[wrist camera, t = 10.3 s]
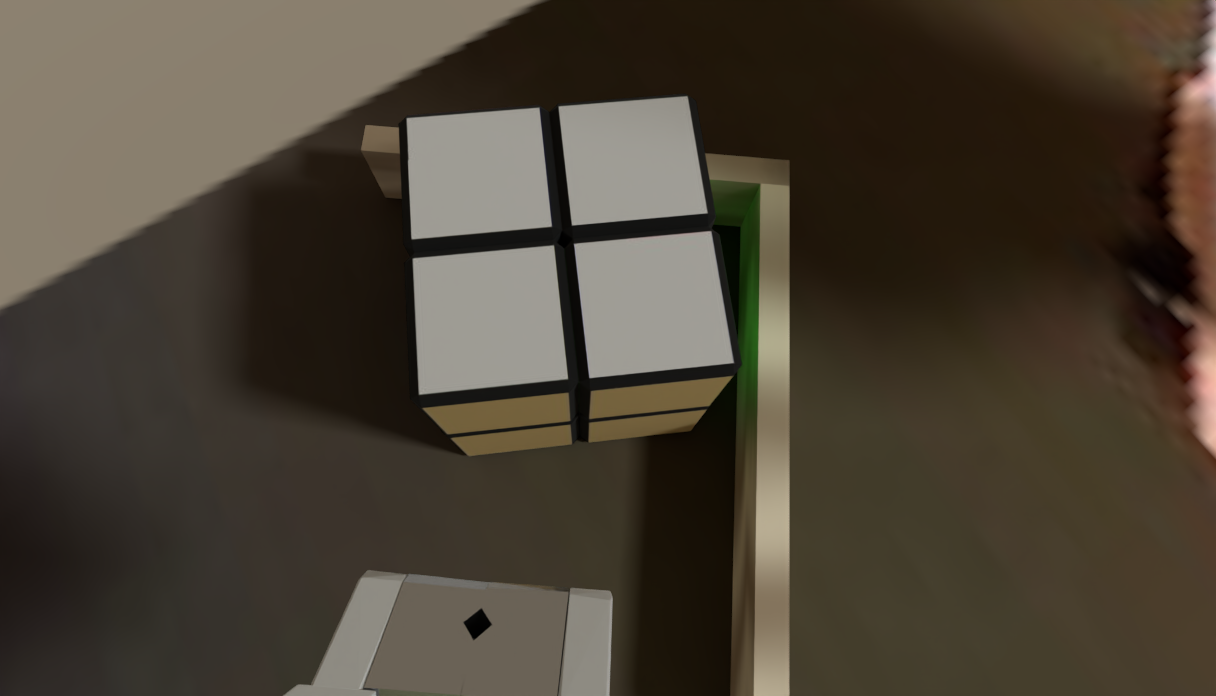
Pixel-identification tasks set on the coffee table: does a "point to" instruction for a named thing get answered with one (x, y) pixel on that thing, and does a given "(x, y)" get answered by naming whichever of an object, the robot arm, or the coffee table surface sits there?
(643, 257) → the puzzle cube
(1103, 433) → the coffee table surface
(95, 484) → the coffee table surface
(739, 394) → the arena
